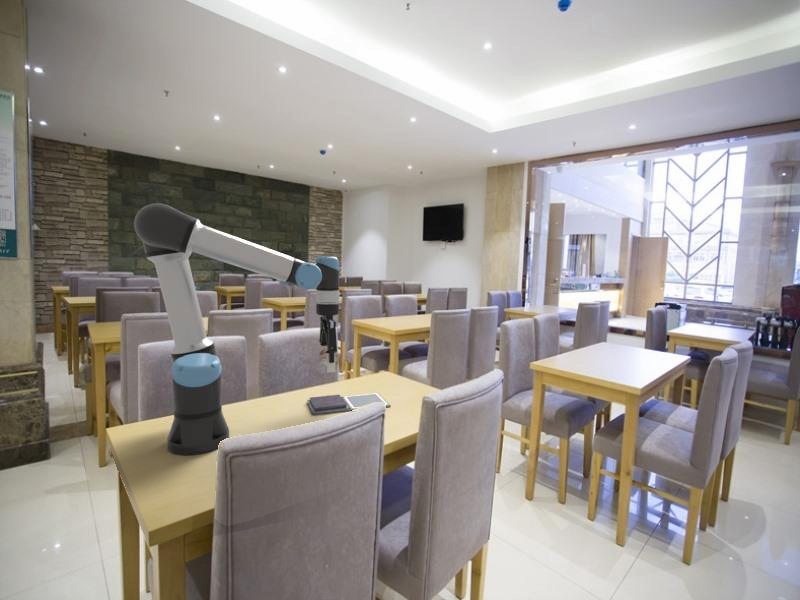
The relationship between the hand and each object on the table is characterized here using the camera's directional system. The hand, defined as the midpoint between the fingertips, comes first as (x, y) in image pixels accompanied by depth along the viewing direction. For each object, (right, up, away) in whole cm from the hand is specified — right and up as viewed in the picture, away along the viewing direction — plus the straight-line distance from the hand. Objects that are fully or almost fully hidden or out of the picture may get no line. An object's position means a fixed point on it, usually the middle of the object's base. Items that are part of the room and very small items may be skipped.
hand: (327, 367), depth 139 cm
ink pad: (0, -13, +1) cm, 14 cm away
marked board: (+12, -13, +6) cm, 19 cm away
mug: (0, -1, -1) cm, 1 cm away
